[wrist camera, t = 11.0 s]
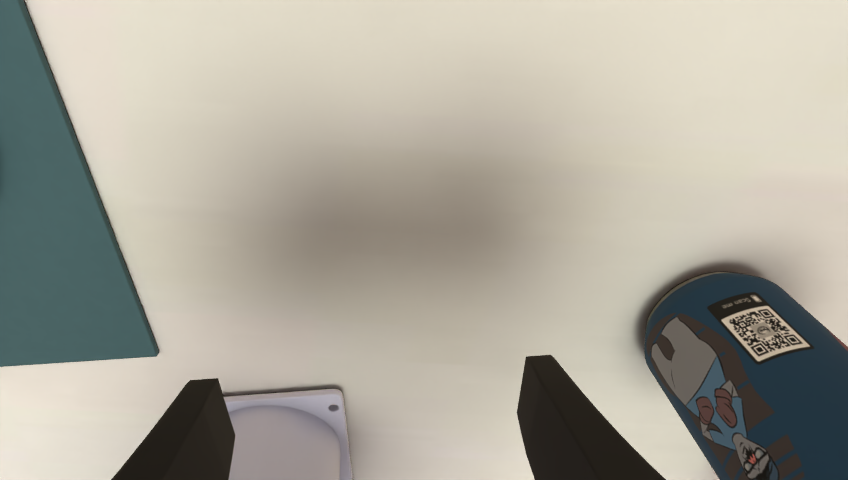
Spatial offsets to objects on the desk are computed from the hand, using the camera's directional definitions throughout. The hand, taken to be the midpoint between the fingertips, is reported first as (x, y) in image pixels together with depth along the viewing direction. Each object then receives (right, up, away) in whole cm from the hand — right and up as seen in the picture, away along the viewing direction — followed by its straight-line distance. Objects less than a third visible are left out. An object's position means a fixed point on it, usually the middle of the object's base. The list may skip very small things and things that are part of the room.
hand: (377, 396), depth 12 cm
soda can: (+15, 0, +13) cm, 20 cm away
